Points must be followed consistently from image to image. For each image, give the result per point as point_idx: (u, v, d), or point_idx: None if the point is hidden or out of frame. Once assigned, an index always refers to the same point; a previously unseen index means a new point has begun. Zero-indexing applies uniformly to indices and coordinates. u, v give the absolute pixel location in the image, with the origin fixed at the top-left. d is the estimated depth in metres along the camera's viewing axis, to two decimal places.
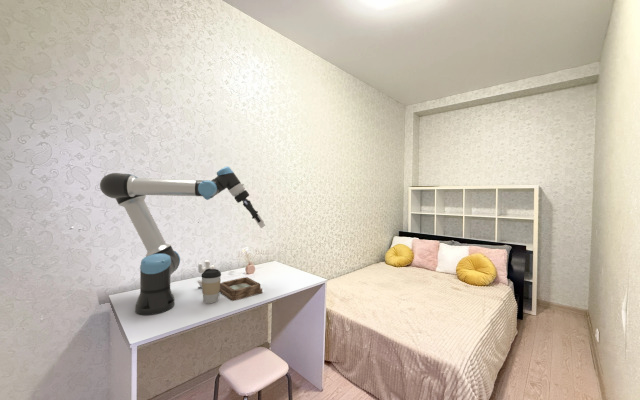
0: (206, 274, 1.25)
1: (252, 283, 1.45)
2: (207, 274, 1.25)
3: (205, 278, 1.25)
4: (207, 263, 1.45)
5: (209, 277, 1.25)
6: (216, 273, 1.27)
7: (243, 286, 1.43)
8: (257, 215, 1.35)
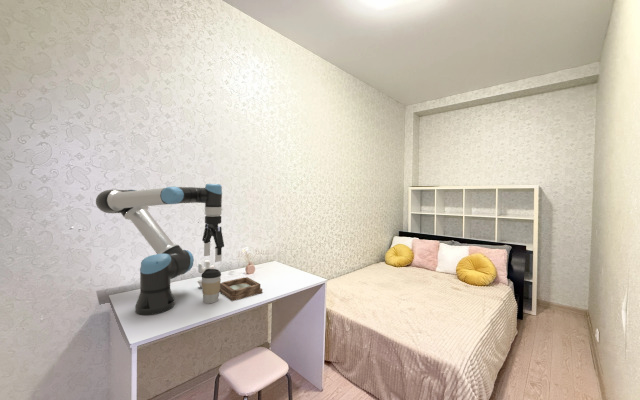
0: (206, 274, 1.25)
1: (252, 283, 1.45)
2: (207, 274, 1.25)
3: (205, 278, 1.25)
4: (207, 263, 1.45)
5: (209, 277, 1.25)
6: (216, 273, 1.27)
7: (243, 286, 1.43)
8: (221, 247, 1.24)
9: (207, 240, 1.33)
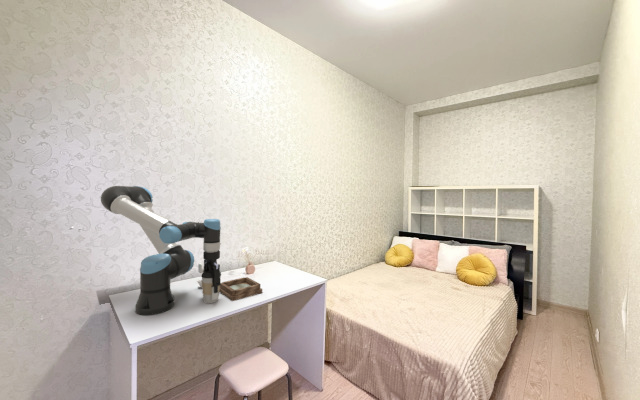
0: (206, 274, 1.25)
1: (252, 283, 1.45)
2: (207, 274, 1.25)
3: (205, 278, 1.25)
4: None
5: (209, 277, 1.25)
6: None
7: (243, 286, 1.43)
8: (218, 285, 1.26)
9: None
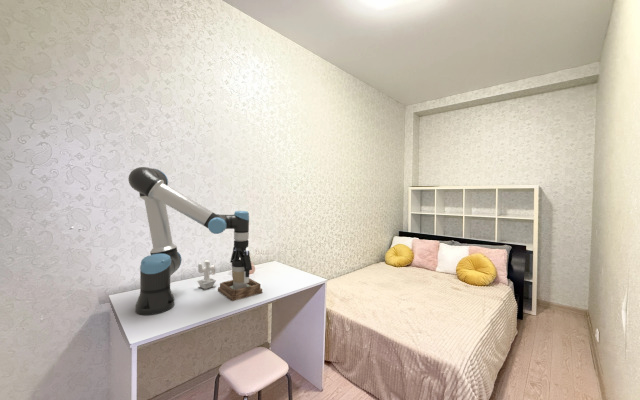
0: (236, 263, 1.37)
1: (252, 283, 1.45)
2: (237, 263, 1.37)
3: (236, 267, 1.36)
4: (207, 263, 1.45)
5: (239, 266, 1.36)
6: None
7: None
8: (249, 270, 1.36)
9: None
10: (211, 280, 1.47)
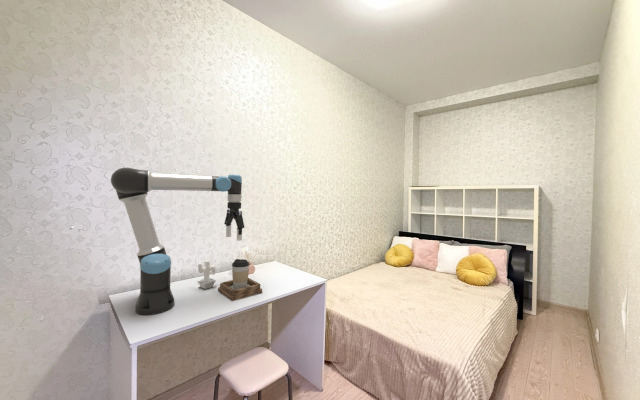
0: (236, 263, 1.37)
1: (252, 283, 1.45)
2: (237, 263, 1.37)
3: (236, 266, 1.36)
4: (207, 263, 1.45)
5: (239, 266, 1.36)
6: (245, 263, 1.39)
7: None
8: (242, 228, 1.46)
9: (228, 223, 1.55)
10: (211, 280, 1.47)
